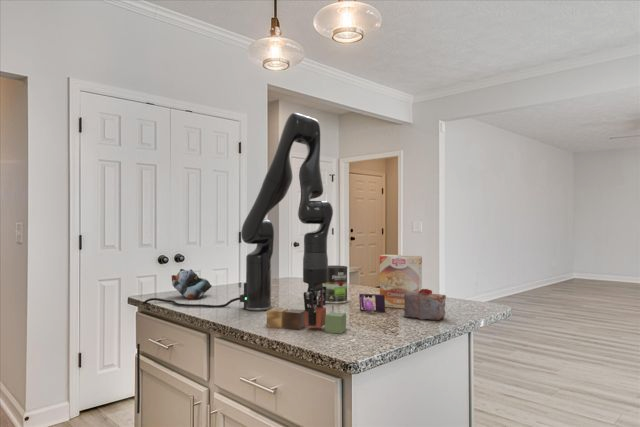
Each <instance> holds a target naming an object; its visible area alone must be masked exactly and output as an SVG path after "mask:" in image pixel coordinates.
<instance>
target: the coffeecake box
mask: <svg viewBox="0 0 640 427" xmlns="http://www.w3.org/2000/svg"><path fill="white" fill-rule="evenodd" d="M422 289H423V256H422V255H409V254H408V255H406V254H380V255H379V295H385V308H392V309H404V310H405V300H404V295H405V293H407V292H408V291H410V292H411V291H412V292H419V291H420V290H422Z"/></svg>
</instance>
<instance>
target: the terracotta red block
mask: <svg viewBox="0 0 640 427" xmlns="http://www.w3.org/2000/svg"><path fill="white" fill-rule="evenodd" d="M310 308H311V307H310ZM326 314H327V307H325V306H323V307H317V308H316V325H315V326H311V325H309V324H308V312H306V311H305V327H310V328H322V327H325V315H326Z"/></svg>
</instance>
